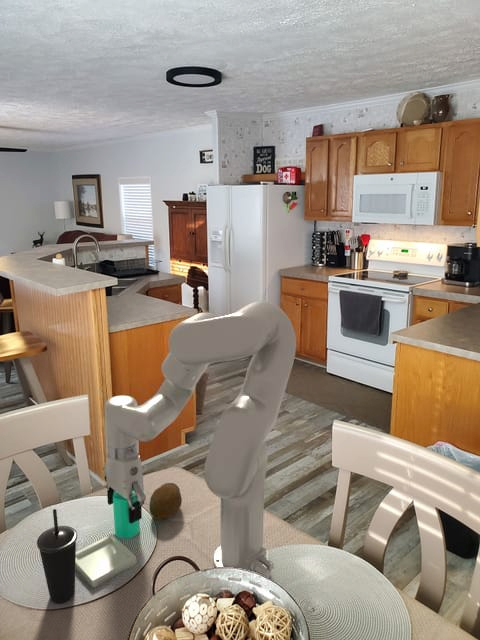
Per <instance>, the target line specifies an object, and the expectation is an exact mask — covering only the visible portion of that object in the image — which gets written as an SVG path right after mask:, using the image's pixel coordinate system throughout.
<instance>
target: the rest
mask: <svg viewBox="0 0 480 640" xmlns="http://www.w3.org/2000/svg"><path fill="white" fill-rule="evenodd" d="M136 564H137V556H136V555H135V554H134V553H133V552H131V550H129V549H128V547H126V546H125V545H124V544H123V543H122V542H121V541H119V539H117V538H116V537H115V536H114V535H113V534H109V535H107V536H106V537H103V538H101V539H99V540H97V541H95V542H93V543H91V544H89V545H87V546H85V547H83V548H81V549H78V551H76V560H75V570H76V571H77V572H78V573H79V574H80V575H81V576H82V577H83V578H84V580H85V581H86V582H87V583H88V584H89V585H90V586H91V587H92V589H93V588H96V587H98V586H100V585H101V584H103V583H105V582H106V581H108V580H110V579H112V578H114V577H115V576H117V575H118V574H121V573H122V572H124V571H126V570H128V569H129V568H131V567H133V566H134V565H136Z"/></svg>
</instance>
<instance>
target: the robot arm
mask: <svg viewBox="0 0 480 640" xmlns="http://www.w3.org/2000/svg"><path fill="white" fill-rule="evenodd" d="M296 340H297V339H296V332H295V330H294V326H293V324H292V321H291V320H290V319H289V317H288V315H287V314H286V312H285V311H283V310H282V309H281V307H279V306H278V305H277V304H275V303H273V302H270V301H266V300H258V301H255V302H254V301H253V302H251V303H249V304H247V305H245V306H243V307H242V308H240V309H239V310H236V311H235V312H234V313H231V314H227V315H222V316H218V315H217V314H215V313H212V312H199V313H197V314H195V315H193V316H192V315H191V316H190V317H189V318H186V319H185V320H182V321H181V322H179V323H178V324H176V325H175V326H174V328H173V329H171V332H170V334H169V337H168V341H167V344H168V349H169V352H168V354H167V355H166V356H165V358H164V360H163V362H162V364H161V373H162V375H163V377H164V378H165V379H164V381H163V382H162V384H161V386H159V389H158V390H157V392H156V393H155V394H154V395H153V396H152V397H151V398H149V399H147V401H145V402H144V403H143V404H141V405H138V402H137V400H136V399H135V398H134V397H133V396H130V395H115V396H111V397H110V398H108V399H107V400H106V401H105V403H104V407H103V408H104V411H103V412H104V431H105V432H104V433H105V435H104V436H105V453H106V454H105V456H106V458H105V466H103V467H102V470H103V474H104V480H105V483H106V485H105V488H106V489H107V490H106V493H107V495H106V496H107V497H106V498H107V504H108V505H113V494H114V492H115V491H116V492H117V493H118V494H119V495H121V496H122V497H123V498H125V499H127V500H128V503H129V505H130V508H129V523H131V524H132V523H134V522H136V521H138V520H139V521H140V520H142V517H143V516H142V515H143V513H142V512H143V511H142V506H143V505H144V504H145V501H146V499H147V496H146V494H145V493H144V490H145V488H144V475H143V474H144V473H143V468H142V467H143V466H142V461H141V457H140V455H139V453H140V450H139V449H140V448H139V447H140V444H139V442H143V443H144V442H149V441H153V439H155V438H156V437H157V436H158V435H160V433H162V432H163V431H164V430H165V429H166V428H167V427H169V426H170V425H171V424H172V423H174V421H175V420H176V419H177V418H178V417H179V415H180V414H181V413H182V411H183V409H184V408H185V407H186V405H187V404H188V402H189V401H190V399H191V397H192V395H193V394H194V391H195V389H196V385H197V383H198V382H199V381H200V379H201V377H202V376H203V375H204V373H205V371H206V369H207V368H208V367H209V366H210V364H213V363H219V362H220V363H221V362H226V361H229V362H230V361H233V360H234V361H235V360H236V361H237V360H241V359H245V358H248V357H251V356H252V357H251V359H250V362H249V364H248V367H247V369H246V374H245V378H244V380H243V384H242V387H241V389H240V391H239V394H238V395H237V396H236V397H235V399H234V400H233V401H232V402H231V403H230V404H229V405H228V407H226V408H225V410H224V411H223V412H222V413H221V416H220V417H219V419H218V421H217V424H216V426H215V429H214V433H213V436H212V440H211V442H210V447H209V450H208V453H207V455H206V456H207V457H206V460H205V464H204V470H203V471H204V473H203V475H204V479H205V483H206V487H207V488H208V489H209V491H210V492H211V493H212V494H213V495H215V496H216V497H217V498H220V500H219V503H220V505H219V506H220V512H219V513H220V545H219V546H218V547H217V548H216V550H215V551H214V554H213V565H214V568H215V567H233V568H242V569H246V570H250V571H254V572H257V573H259V574H261V575H263V576H265V577H268V579H269V578H270V577H271V575H272V574H271V573H272V572H271V570H272V569H273V568H274V566H275V565H274V562H272V561H271V560H270V559H269V560H267V558H266V557H269V558H270V555H269V556H266V555H268V554H269V552H268V550H267V548H266V547H265V546H264V511H265V509H264V507H265V505H264V503H265V484H266V474H267V467H268V460H269V457H268V456H269V452H268V447H267V442H266V441H265V440H266V439H267V437H268V436H269V434H270V433H271V431H272V430H273V428H274V427H275V425H276V423H277V419H278V415H279V413H280V408H281V406H282V401H283V399H284V397H285V392H286V389H287V384H288V382H289V378H290V375H291V372H292V369H293V366H294V361H295V357H296V352H297V350H296V348H297V341H296ZM132 491H134V492H135V493H134V494H132V495H131V492H132ZM135 496H136V499H137V501H136V502H135V503H133V501H132V497H135ZM266 553H267V554H266ZM263 564H264V565H265V566H266V567H268V568H265V567H264V566H262V565H263Z"/></svg>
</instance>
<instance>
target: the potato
mask: <svg viewBox="0 0 480 640" xmlns="http://www.w3.org/2000/svg"><path fill="white" fill-rule="evenodd" d="M182 500H183V499H182V494H181V490H180V488H179V486H178V485H177V484H176V483H174V482H166V483H164V484H161V485H160V486H159V487H157V488H156V489H155V490H154V491H153V493H152V494H151V496H150V499H149V513H150V515H151V516H152V517H153V519H155V520H166V519H168V518H170V517H172V516H174V515H175V514H176V513H177V512H178V511H179V510H180V508H181V506H182V503H183V501H182Z"/></svg>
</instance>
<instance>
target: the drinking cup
mask: <svg viewBox="0 0 480 640" xmlns="http://www.w3.org/2000/svg"><path fill="white" fill-rule="evenodd" d="M52 515H53V527H50V528H48V529H47V530H45V531H43V532H42V533H41V534H40V535H39V536H38V537H37V540H36V548H38V550H39V555H40V558H41V564H42V568H43V571H44V576H45V580H46V585H47V589H48V594H49V599H50V601H51V602H52V603H53V604H57V605H61V604H65V603H67V602H70V601H71V600H72V599H73V598H74V596H75V594H76V568H75V560H76V552H77V551H76V550H77V539H78V532H77V529H75V528H73V527H71V526H68V525H59V522H58V513H57V509H56V508H53V509H52Z"/></svg>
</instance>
